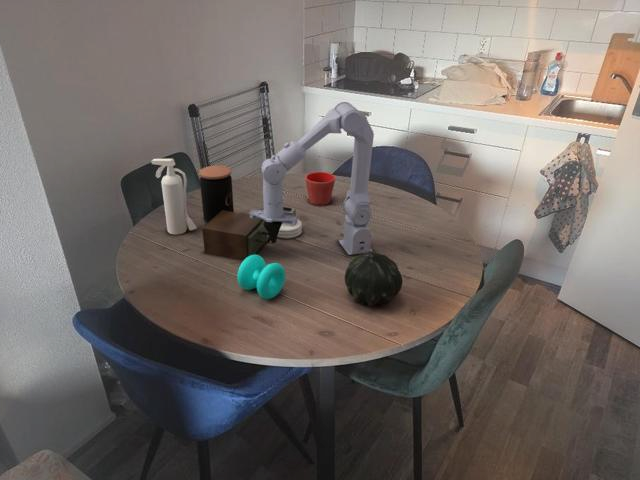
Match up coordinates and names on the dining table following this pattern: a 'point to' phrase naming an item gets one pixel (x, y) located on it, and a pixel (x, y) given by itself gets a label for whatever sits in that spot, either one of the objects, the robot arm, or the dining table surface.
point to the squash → (373, 278)
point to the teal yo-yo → (261, 276)
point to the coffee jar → (216, 191)
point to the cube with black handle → (289, 211)
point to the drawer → (257, 239)
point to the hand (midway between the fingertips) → (273, 241)
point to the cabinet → (229, 234)
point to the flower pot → (320, 187)
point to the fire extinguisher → (174, 197)
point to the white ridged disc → (290, 230)
